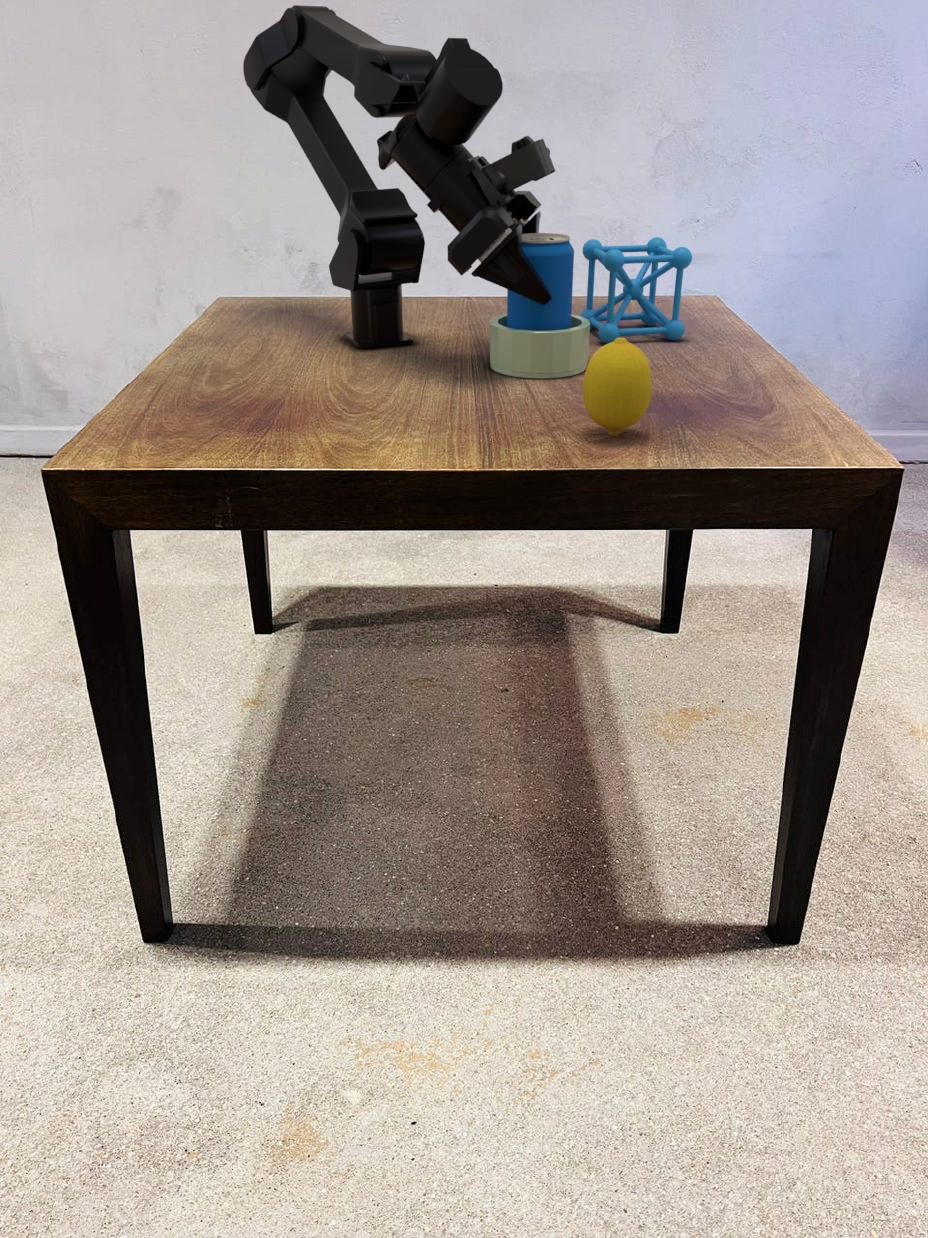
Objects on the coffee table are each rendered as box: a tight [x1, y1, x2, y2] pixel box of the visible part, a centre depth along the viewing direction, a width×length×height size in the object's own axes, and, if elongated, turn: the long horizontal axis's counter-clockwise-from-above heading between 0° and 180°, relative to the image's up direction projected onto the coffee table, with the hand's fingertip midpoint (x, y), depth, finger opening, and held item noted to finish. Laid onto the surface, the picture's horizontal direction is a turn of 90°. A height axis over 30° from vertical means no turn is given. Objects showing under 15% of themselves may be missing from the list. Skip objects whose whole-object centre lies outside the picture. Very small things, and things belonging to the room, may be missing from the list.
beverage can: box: [506, 232, 575, 331], centre depth 98 cm, size 6×6×12 cm
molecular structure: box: [579, 236, 693, 345], centre depth 111 cm, size 10×10×10 cm
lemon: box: [582, 336, 653, 436], centre depth 79 cm, size 6×6×8 cm
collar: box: [489, 313, 591, 380], centre depth 100 cm, size 10×10×4 cm
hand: (554, 294), depth 98 cm, fingers open, 7 cm apart
